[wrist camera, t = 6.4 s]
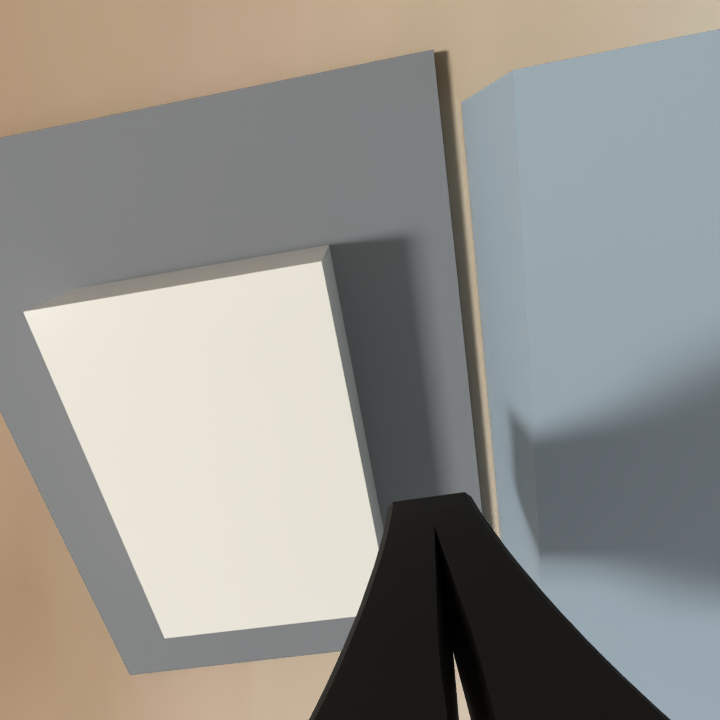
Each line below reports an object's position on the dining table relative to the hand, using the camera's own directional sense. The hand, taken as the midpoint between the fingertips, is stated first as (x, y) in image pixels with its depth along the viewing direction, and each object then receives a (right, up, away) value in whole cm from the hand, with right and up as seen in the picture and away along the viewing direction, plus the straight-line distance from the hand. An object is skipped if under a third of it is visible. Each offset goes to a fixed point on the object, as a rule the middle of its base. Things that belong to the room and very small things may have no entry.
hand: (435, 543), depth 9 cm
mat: (-4, +1, +5) cm, 7 cm away
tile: (-4, 0, +3) cm, 5 cm away
